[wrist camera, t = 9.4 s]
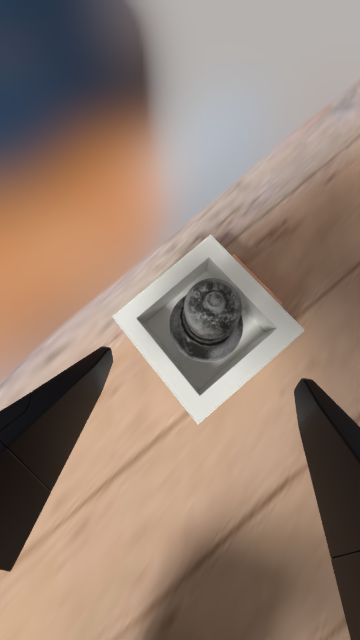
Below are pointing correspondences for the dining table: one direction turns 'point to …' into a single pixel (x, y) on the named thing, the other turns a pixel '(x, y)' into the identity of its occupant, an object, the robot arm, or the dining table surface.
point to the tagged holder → (218, 376)
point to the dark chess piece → (207, 321)
